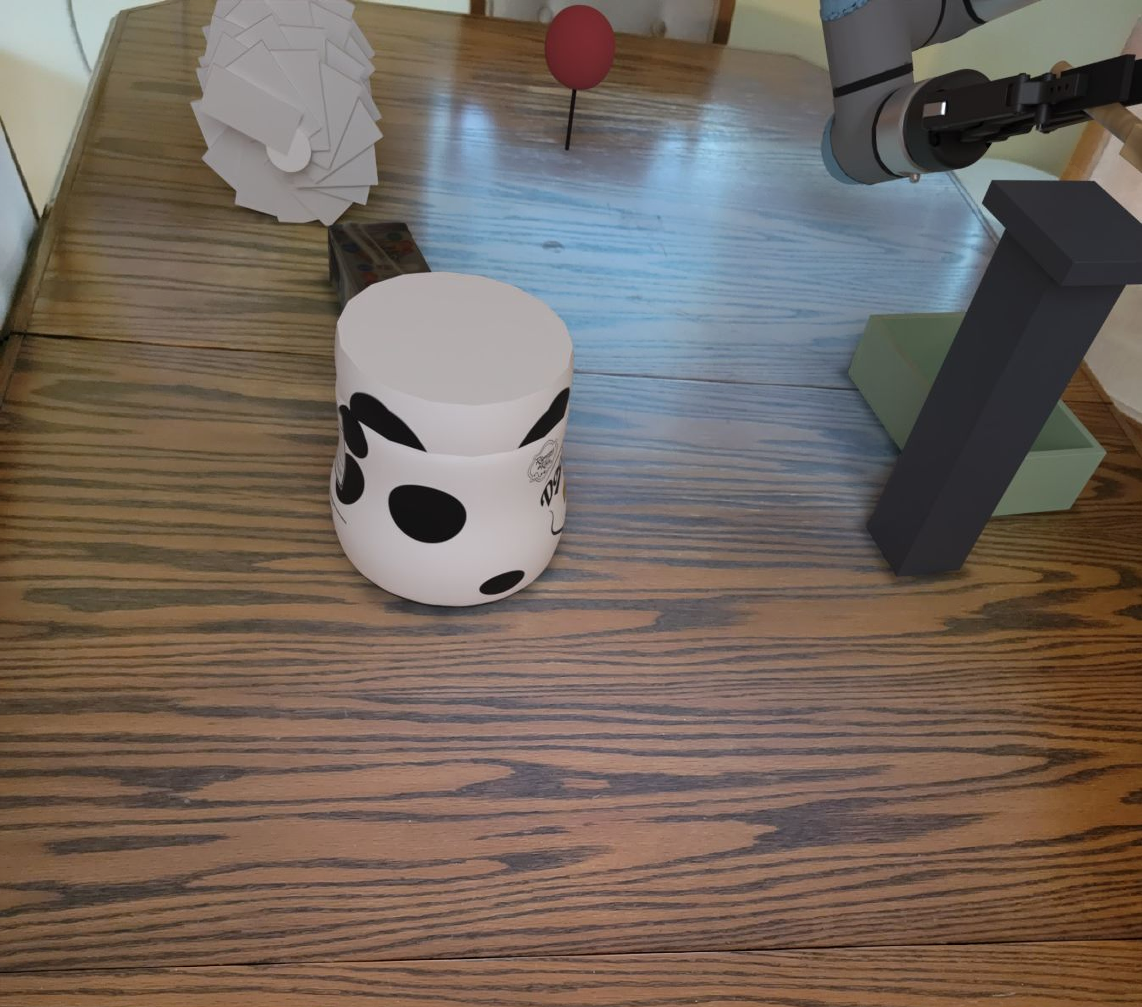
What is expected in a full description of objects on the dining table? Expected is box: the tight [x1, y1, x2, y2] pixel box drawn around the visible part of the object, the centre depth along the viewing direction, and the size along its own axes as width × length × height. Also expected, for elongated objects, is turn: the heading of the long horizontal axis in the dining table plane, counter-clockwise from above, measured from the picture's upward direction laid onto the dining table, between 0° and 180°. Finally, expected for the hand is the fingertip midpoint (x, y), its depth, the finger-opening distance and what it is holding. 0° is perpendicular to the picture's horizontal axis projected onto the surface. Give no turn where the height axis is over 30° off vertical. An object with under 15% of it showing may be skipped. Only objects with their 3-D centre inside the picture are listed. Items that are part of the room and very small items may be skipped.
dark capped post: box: [865, 179, 1142, 578], centre depth 75 cm, size 10×8×28 cm
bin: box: [847, 311, 1107, 517], centre depth 94 cm, size 22×13×7 cm, turn 15°
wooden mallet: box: [1049, 60, 1142, 174], centre depth 74 cm, size 17×4×2 cm, turn 15°
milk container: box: [328, 271, 575, 609], centre depth 73 cm, size 17×17×18 cm
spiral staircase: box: [189, 0, 384, 227], centre depth 103 cm, size 18×18×25 cm
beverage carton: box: [327, 220, 432, 311], centre depth 93 cm, size 8×19×7 cm, turn 20°
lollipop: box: [543, 4, 616, 151], centre depth 116 cm, size 8×8×15 cm
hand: (1140, 77), depth 72 cm, fingers closed on wooden mallet, 2 cm apart
